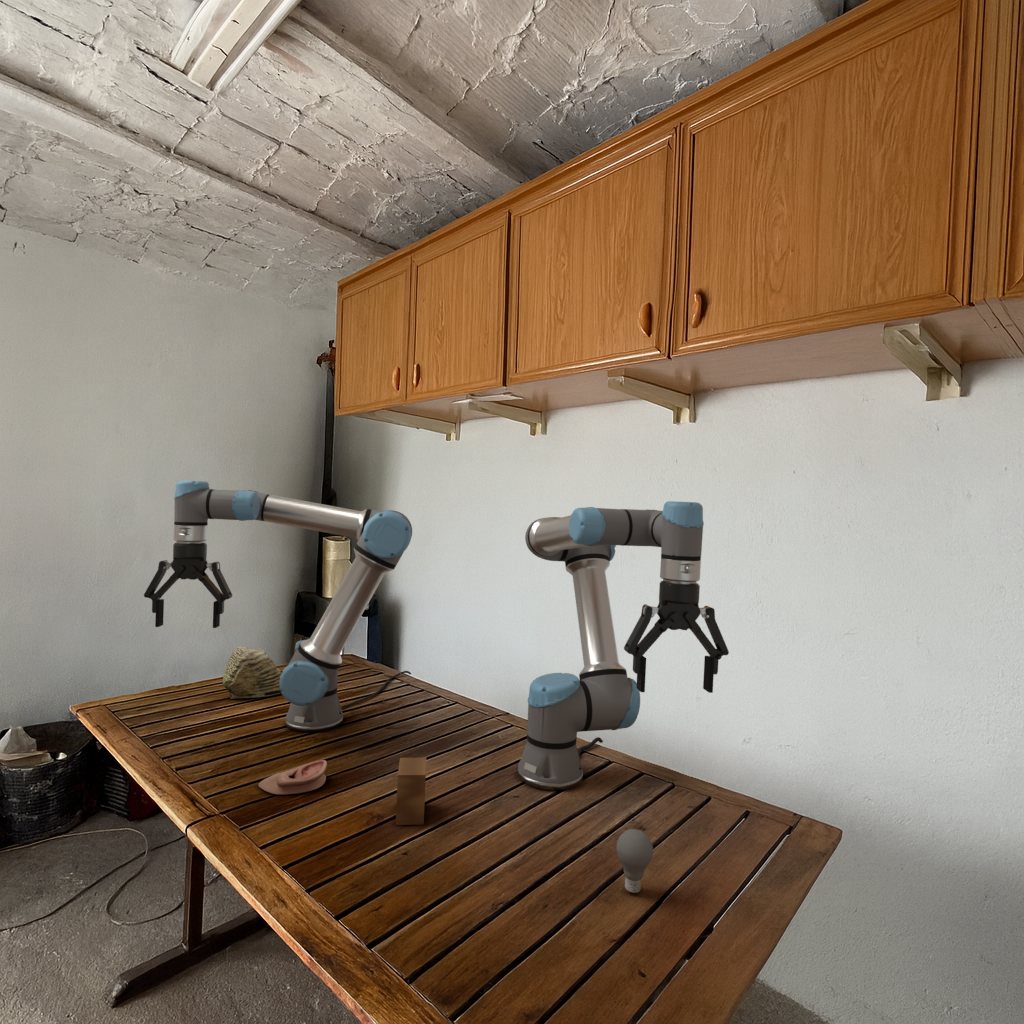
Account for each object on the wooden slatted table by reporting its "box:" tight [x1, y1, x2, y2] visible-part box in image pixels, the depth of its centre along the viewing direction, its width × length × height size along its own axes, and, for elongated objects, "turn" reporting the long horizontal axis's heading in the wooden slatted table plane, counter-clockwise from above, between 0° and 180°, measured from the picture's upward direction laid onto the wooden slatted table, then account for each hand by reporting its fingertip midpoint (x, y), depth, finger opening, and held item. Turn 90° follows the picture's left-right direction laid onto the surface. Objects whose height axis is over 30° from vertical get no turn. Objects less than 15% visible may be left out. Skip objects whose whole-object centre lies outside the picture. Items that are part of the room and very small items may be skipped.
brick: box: [395, 757, 427, 826], centre depth 128 cm, size 5×8×10 cm, turn 7°
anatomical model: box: [257, 759, 328, 795], centre depth 139 cm, size 13×4×12 cm
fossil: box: [222, 646, 282, 699], centre depth 198 cm, size 9×18×15 cm, turn 132°
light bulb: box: [615, 828, 654, 894], centre depth 106 cm, size 6×6×10 cm
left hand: (187, 626), depth 159 cm, fingers open, 13 cm apart
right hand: (674, 690), depth 123 cm, fingers open, 13 cm apart
